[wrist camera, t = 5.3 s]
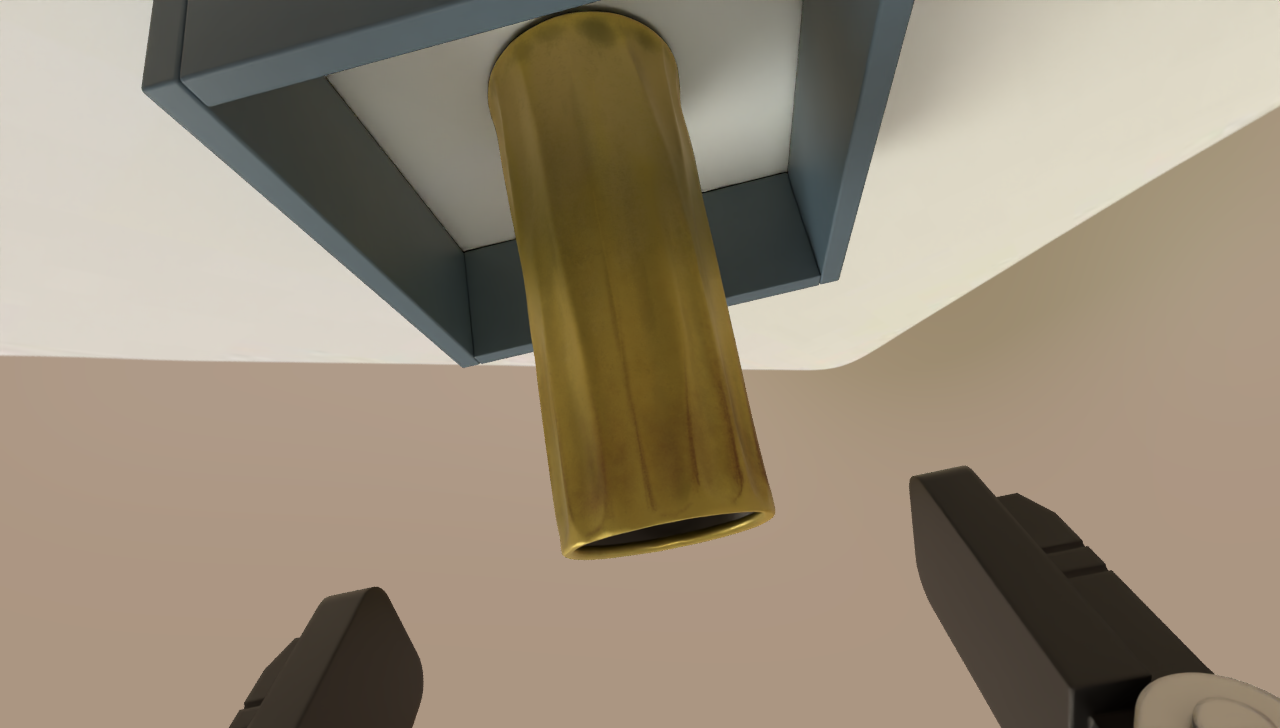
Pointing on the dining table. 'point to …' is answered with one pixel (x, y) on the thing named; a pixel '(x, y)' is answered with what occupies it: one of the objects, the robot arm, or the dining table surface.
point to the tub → (400, 221)
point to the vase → (623, 293)
